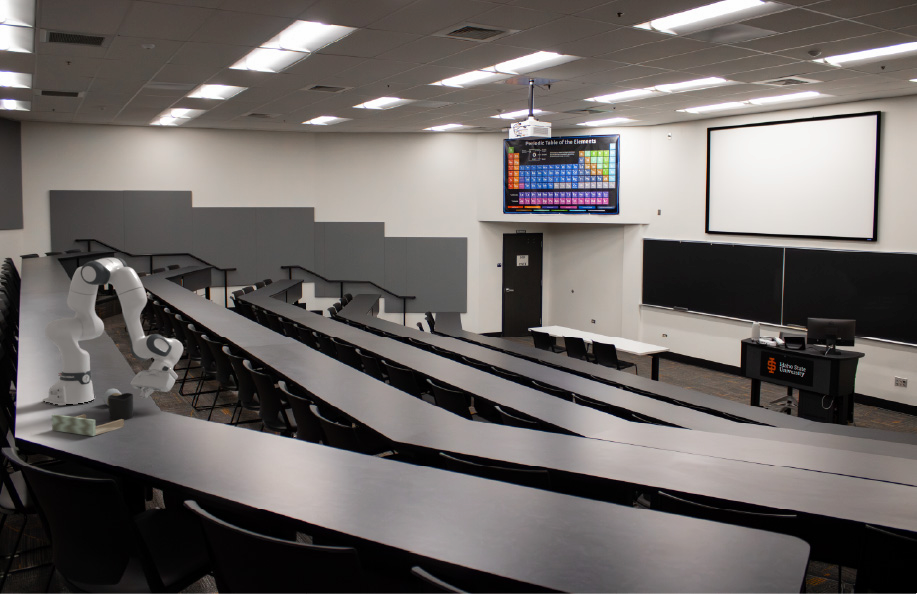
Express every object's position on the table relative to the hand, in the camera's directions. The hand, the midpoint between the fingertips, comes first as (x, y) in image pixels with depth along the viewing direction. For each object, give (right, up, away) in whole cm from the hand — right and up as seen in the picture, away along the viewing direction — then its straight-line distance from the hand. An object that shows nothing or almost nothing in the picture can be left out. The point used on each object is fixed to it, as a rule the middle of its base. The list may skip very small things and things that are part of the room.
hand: (143, 397), depth 299 cm
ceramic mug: (-18, -6, +13) cm, 23 cm away
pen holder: (-4, -8, -10) cm, 14 cm away
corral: (-10, -9, -25) cm, 28 cm away
